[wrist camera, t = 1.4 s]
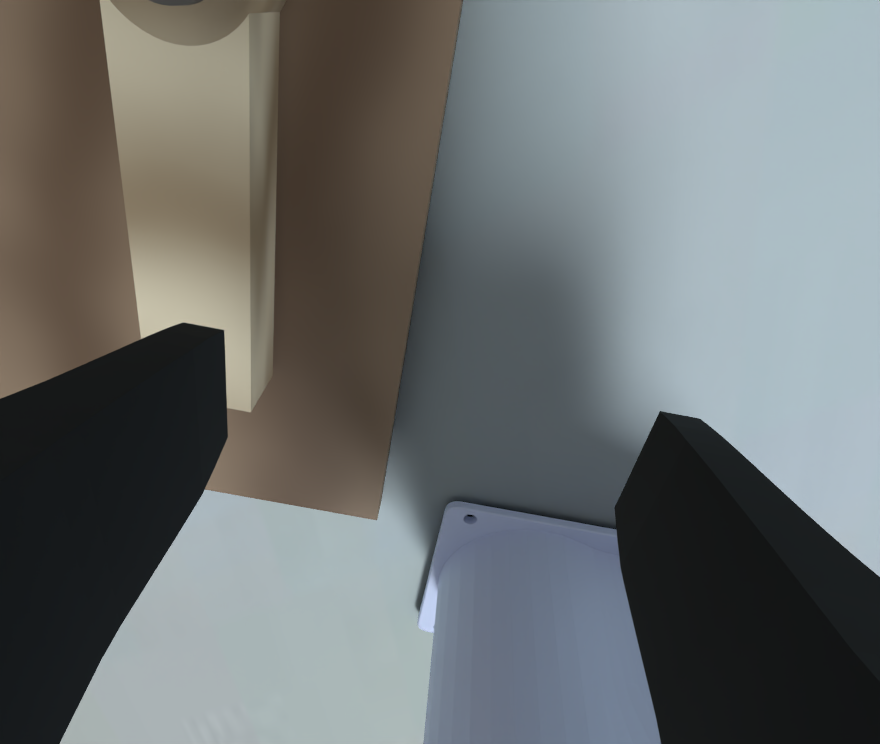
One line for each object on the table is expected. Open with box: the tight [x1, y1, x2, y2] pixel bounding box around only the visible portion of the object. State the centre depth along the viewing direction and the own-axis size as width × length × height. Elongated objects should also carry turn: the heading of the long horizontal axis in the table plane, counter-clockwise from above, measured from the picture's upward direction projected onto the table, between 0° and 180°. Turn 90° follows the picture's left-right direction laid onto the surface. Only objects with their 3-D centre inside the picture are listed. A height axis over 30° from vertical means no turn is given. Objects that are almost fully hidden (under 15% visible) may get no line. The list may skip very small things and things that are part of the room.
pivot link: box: [100, 0, 286, 412], centre depth 14 cm, size 13×4×3 cm, turn 170°
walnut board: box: [0, 0, 463, 520], centre depth 17 cm, size 19×19×1 cm
